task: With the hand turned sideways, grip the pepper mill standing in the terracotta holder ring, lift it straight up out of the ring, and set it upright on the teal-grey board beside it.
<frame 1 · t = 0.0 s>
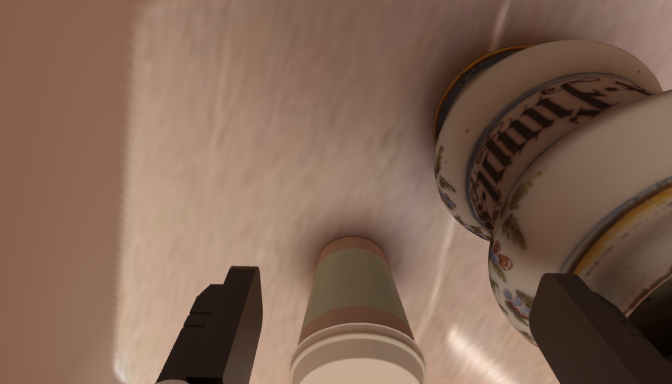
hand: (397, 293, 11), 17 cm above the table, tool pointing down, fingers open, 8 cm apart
coffee cup: (351, 261, 33), on the table
apothecary jar: (504, 119, 26), on the table
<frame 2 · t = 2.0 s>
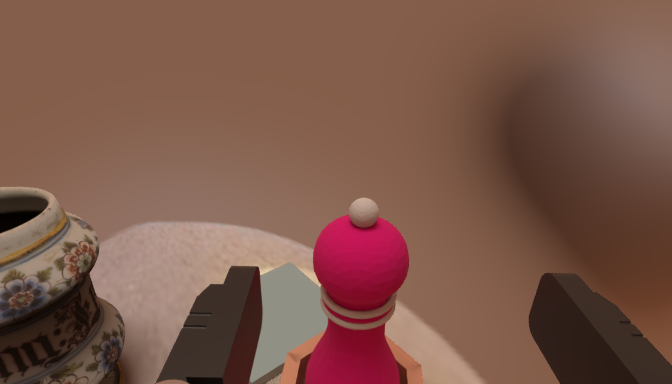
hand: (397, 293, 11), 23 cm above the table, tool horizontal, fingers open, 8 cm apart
board: (275, 318, 41), on the table
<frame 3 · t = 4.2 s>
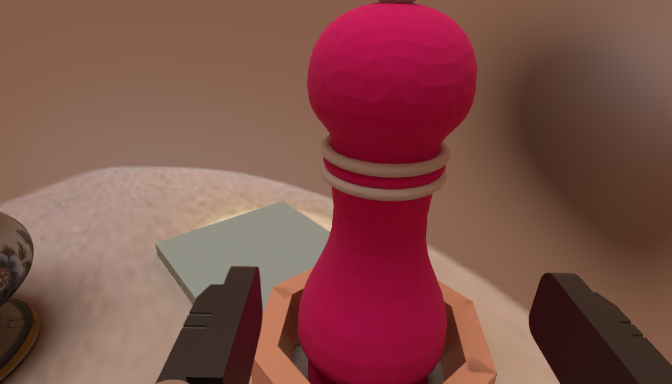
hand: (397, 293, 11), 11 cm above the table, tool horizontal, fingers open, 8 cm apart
holder ring: (366, 379, 21), on the table
pepper mill: (365, 382, 21), resting in holder ring
board: (260, 260, 30), on the table
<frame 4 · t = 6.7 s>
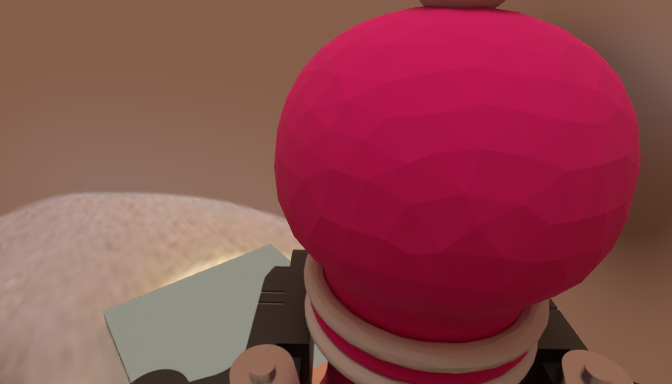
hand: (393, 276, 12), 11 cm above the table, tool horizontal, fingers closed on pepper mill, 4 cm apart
board: (237, 334, 24), on the table
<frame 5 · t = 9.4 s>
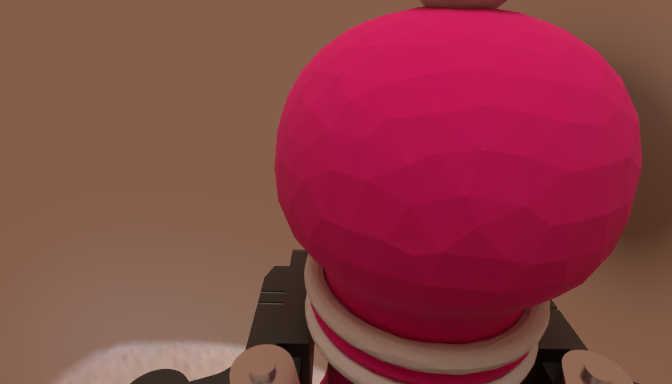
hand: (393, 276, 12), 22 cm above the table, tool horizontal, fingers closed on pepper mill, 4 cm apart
when the fingers open (13 cm above the table, at t = 12.5 s): pepper mill moves 2 cm, resting on board.
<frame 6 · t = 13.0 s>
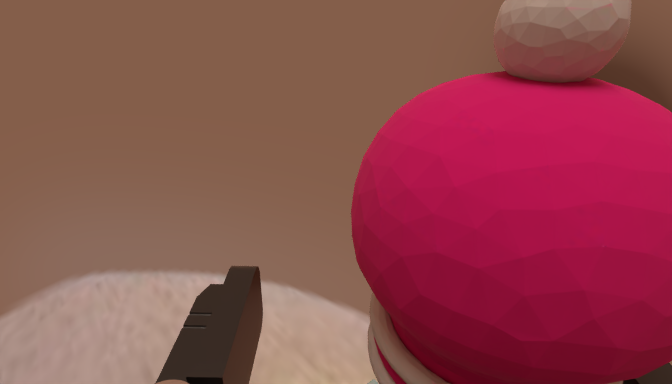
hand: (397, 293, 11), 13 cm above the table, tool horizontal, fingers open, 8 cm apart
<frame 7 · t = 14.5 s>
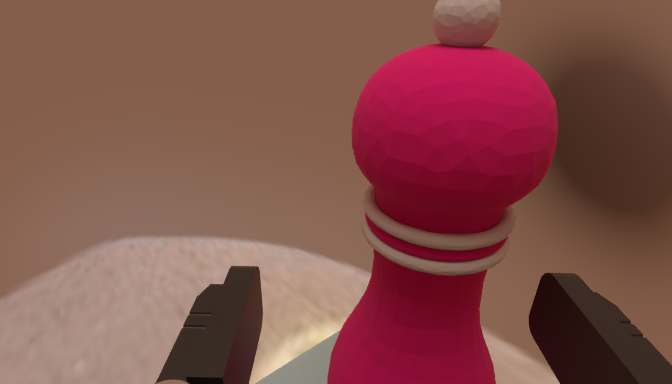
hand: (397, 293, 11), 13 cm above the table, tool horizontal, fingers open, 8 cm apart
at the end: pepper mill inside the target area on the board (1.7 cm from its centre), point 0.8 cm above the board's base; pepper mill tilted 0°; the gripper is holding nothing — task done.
